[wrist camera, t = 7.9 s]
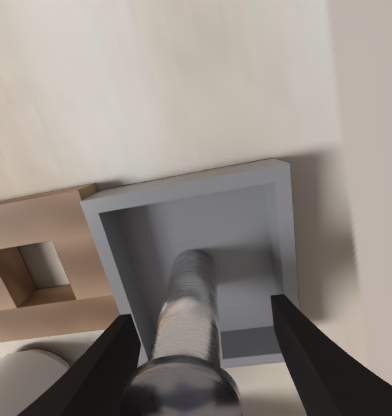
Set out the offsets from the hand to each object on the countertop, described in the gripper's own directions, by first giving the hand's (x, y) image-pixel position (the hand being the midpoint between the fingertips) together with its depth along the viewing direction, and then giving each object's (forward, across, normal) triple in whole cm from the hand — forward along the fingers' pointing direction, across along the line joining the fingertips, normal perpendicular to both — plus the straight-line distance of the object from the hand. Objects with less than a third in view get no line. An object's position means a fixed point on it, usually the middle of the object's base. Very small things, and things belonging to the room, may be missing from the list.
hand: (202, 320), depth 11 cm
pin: (+5, +1, 0) cm, 5 cm away
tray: (+5, 0, 0) cm, 5 cm away
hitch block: (+5, +11, -2) cm, 12 cm away
